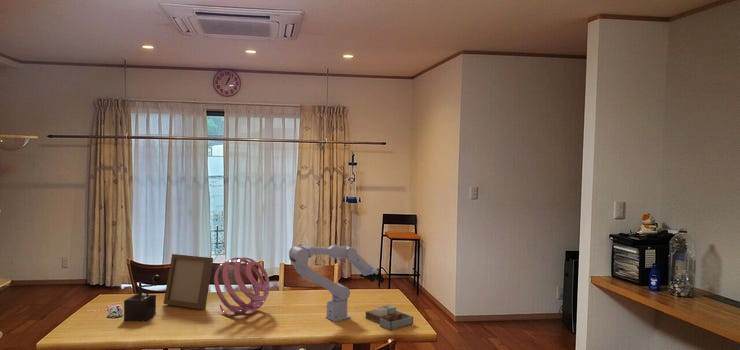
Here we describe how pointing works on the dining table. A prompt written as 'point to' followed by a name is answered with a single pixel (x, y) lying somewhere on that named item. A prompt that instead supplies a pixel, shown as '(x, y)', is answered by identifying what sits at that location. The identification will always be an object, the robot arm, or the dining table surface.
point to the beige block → (380, 311)
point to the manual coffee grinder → (141, 304)
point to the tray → (397, 322)
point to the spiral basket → (243, 286)
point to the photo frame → (188, 281)
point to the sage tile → (390, 309)
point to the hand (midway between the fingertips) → (378, 280)
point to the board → (389, 317)
